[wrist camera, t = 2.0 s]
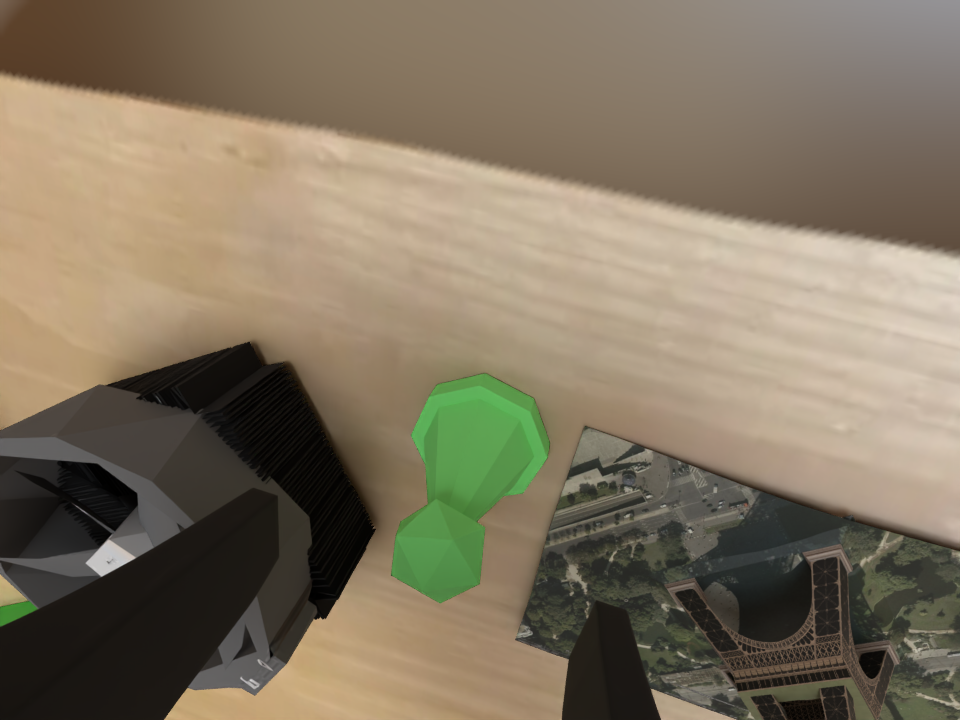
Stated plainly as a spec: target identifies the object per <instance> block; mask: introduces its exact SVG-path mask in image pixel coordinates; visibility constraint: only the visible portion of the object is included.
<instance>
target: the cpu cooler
mask: <svg viewBox="0 0 960 720" xmlns="http://www.w3.org/2000/svg"><path fill="white" fill-rule="evenodd" d="M283 363H285V362H283ZM283 363H277V364H272V365H266V366H262V365H261V363H260V361H259V359H258V357H257V355H256V353H255V351H254V349H253V347H252V346H251V344H250V342H247V343H244V344H240V345H237V346H234V347H233V348H231V347H230V348H227V349H224V350H220V351H218V352H214V353H210V354H207V355H204V356H201V357H197V358H194V359H191V360H188V361H185V362H180V363H178V364H174V365H172V366H167V367H164V368H162V369H160V370H159V369H158V370H155V371H152V372H149V373H148V372H147V373H144V374H142V375H138V376H135V377H132V378H128V379H124V380H121V381H119V382H115V383H111V384H108V385H105V386H104V385H98V386H95V387H93V388H91V389H89V390H87V391H85V392H82V393H80V394H78V395H76V396H74V397H72V398H69V399H67V400H65V401H63V402H61V403H59V404H57V405H54V406H52V407H50V408H48V409H46V410H44V411H41V412H39V413H37V414H35V415H33V416H31V417H28V418H26V419H24V420H22V421H20V422H18V423H16V424H13V425H11V426H9V427H7V428H5V429H3V430H0V574H1V575H2V576H3V577H4V578H5V579H6V580H7V581H8V582H9V583H10V584H11V585H13V586H14V587H15V588H16V589H17V590H18V591H19V592H20V593H21V594H22V595H23V596H24V597H26V598H27V599H28V600H29V601H30V602H31V603H32V604H33V605H34V606H35V607H36V608H37V609H39V608H41V607H43V606H45V605H48V604H50V603H52V602H54V601H56V600H58V599H60V598H62V597H64V596H66V595H68V594H70V593H72V592H74V591H75V590H77V589H79V588H81V587H83V586H85V585H87V584H89V583H91V582H93V581H95V580H96V579H98V578H100V577H102V576H104V575H106V574H107V573H109V572H111V571H113V570H115V569H117V568H118V567H120V566H122V565H124V564H126V563H128V562H129V561H131V560H133V559H135V558H137V557H138V556H140V555H142V554H144V553H145V552H147V551H149V550H150V549H152V548H154V547H156V546H157V545H159V544H161V543H162V542H164V541H166V540H167V539H169V538H171V537H172V536H174V535H176V534H178V533H179V532H181V531H183V530H184V529H186V528H188V527H189V526H191V525H192V524H194V523H196V522H197V521H199V520H201V519H202V518H204V517H206V516H207V515H209V514H210V513H212V512H214V511H215V510H217V509H218V508H220V507H222V506H223V505H225V504H227V503H228V502H230V501H231V500H233V499H235V498H236V497H238V496H239V495H241V494H243V493H244V492H246V491H248V490H249V489H251V488H256V489H259V490H262V491H265V492H269V493H272V494H275V495H278V522H279V558H278V560H277V562H276V564H275V565H274V567H273V569H272V570H271V572H270V574H269V576H268V577H267V579H266V581H265V582H264V584H263V586H262V587H261V589H260V590H259V592H258V594H257V595H256V597H255V599H254V600H253V602H252V603H251V604H250V606H249V607H248V608H247V610H246V611H245V612H244V614H243V615H242V616H241V618H240V619H239V620H238V622H237V623H236V624H235V626H234V627H233V628H232V630H231V631H230V632H229V634H228V635H227V636H226V638H225V639H224V640H223V642H222V643H221V644H220V646H219V647H218V648H217V650H216V651H215V652H214V654H213V655H212V656H211V657H210V659H209V660H208V661H207V663H206V664H205V665H204V667H203V668H202V669H201V671H200V672H199V673H198V675H197V676H196V677H195V678H194V680H193V681H192V682H191V684H190V685H189V686H188V688H190V689H193V690H204V689H217V688H242V689H244V690H245V691H247V692H249V693H251V694H253V695H254V696H255V695H256V694H257V693H258V692H259V691H260V690H261V689H262V688H263V687H264V686H265V685H266V684H267V683H268V682H269V681H270V680H271V679H272V678H273V677H274V676H275V675H276V674H277V673H278V672H279V671H280V670H281V669H282V668H283V667H284V666H285V665H286V664H287V662H288V661H289V659H290V657H291V656H292V654H293V652H294V651H295V649H296V647H297V646H298V644H299V642H300V641H301V639H302V637H303V636H304V634H305V632H306V631H307V629H308V627H309V626H310V624H311V622H312V621H313V619H315V620H317V618H318V619H319V618H320V617H321V618H322V619H324V618H325V619H326V618H327V616H328V614H329V612H330V611H331V609H332V607H333V606H334V604H335V602H336V600H338V599H339V597H340V595H341V593H342V592H343V590H344V588H345V586H346V584H347V582H348V580H349V578H350V577H351V575H352V573H353V571H354V569H355V568H356V566H357V564H358V563H359V561H360V559H361V557H362V556H363V554H364V552H365V550H366V547H367V545H368V543H369V541H370V539H371V537H372V535H373V534H374V532H375V530H376V529H373V527H374V526H371V525H372V524H373V523H370V521H371V520H368V518H369V517H370V516H369V517H367V516H368V515H369V514H368V513H366V511H364V509H365V507H363V506H364V505H363V504H361V503H362V502H361V501H359V500H360V498H357V497H358V494H356V493H357V492H356V491H354V490H355V489H354V488H352V486H349V485H350V484H351V481H349V478H346V477H347V474H345V475H342V474H343V473H344V471H343V470H344V469H343V467H342V465H341V464H340V465H339V463H340V461H337V460H338V458H335V457H336V454H332V452H333V451H331V450H332V449H333V448H332V447H330V446H331V445H329V446H325V445H326V444H327V443H328V442H329V441H328V440H325V441H323V440H324V439H325V437H323V436H324V435H325V434H324V433H321V434H319V433H320V431H321V430H319V429H320V428H321V426H317V425H318V424H319V423H318V422H315V421H316V420H317V419H316V418H314V416H315V415H314V414H312V415H310V414H311V413H312V410H311V411H309V410H310V409H311V408H310V407H307V406H308V405H309V404H308V403H305V404H302V403H303V402H304V401H305V400H306V399H305V400H302V399H303V398H304V395H302V394H303V393H302V392H299V393H297V392H298V391H299V390H300V389H299V390H295V391H292V390H293V389H294V388H296V387H297V386H298V385H297V386H293V387H291V386H292V385H293V384H294V383H295V382H296V380H292V379H293V378H290V379H286V378H287V377H289V376H290V375H291V374H292V373H291V372H289V373H287V372H288V371H289V370H287V371H281V370H283V369H284V368H285V367H286V366H284V367H280V368H278V367H279V366H281V365H282V364H283ZM280 371H281V372H280ZM285 373H286V374H285ZM285 379H286V380H285ZM291 380H292V381H291ZM301 395H302V396H301ZM306 407H307V408H306ZM331 454H332V455H331ZM341 467H342V468H341Z"/></svg>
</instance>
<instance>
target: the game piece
mask: <svg viewBox="0 0 960 720" xmlns="http://www.w3.org/2000/svg"><path fill="white" fill-rule="evenodd" d="M411 437H412V439H413V441H414V443H415V445H416V447H417V449H418V451H419V453H420V455H421V457H422V459H423V462H424V464H425V467H426V483H427V498H428V504H427V505H426V506H424V507H423V508H421V509H420V510H418V511H416V512H415V513H413V514H412V515H410V516H409V517H407V518H406V519H404V520H402V521H401V522H400V525H399V528H398V531H397V534H396V538H395V547H394V555H393V563H392V572H391V576H393V577H395V578H397V579H398V580H400V581H402V582H404V583H405V584H407V585H409V586H411V587H412V588H414V589H416V590H418V591H419V592H421V593H423V594H425V595H426V596H428V597H430V598H432V599H433V600H435V601H437V602H439V603H442V602H444V601H446V600H448V599H450V598H452V597H454V596H456V595H458V594H460V593H462V592H464V591H466V590H469V589H471V588H473V587H475V586H477V585H479V584H480V575H481V565H482V555H483V544H484V534H485V527H484V526H482V525H480V524H479V523H477V521H478V520H479V519H480V518H481V517H482V516H483V515H484V514H485V513H486V512H487V511H489V510H490V509H491V508H492V507H493V506H494V505H495V504H496V503H497V502H498V501H499V500H500V499H501V498H502V497H503V496H508V495H515V494H523V493H524V491H525V490H526V488H527V487H528V485H529V484H530V483H531V481H532V480H533V478H534V477H535V475H536V474H537V472H538V471H539V470H540V468H541V467H542V465H543V464H544V462H545V461H546V459H547V458H548V452H549V446H550V442H549V439H548V436H547V434H546V431H545V428H544V425H543V422H542V420H541V417H540V414H539V411H538V409H537V406H536V403H535V400H534V398H532V397H530V396H528V395H526V394H524V393H522V392H520V391H518V390H516V389H514V388H513V387H511V386H509V385H507V384H505V383H503V382H501V381H499V380H497V379H495V378H493V377H491V376H489V375H487V374H486V373H484V374H480V375H476V376H471V377H467V378H463V379H459V380H454V381H450V382H446V383H441V384H437V385H436V387H435V388H434V390H433V391H432V393H431V395H430V396H429V398H428V400H427V402H426V404H425V407H424V409H423V411H422V413H421V415H420V417H419V419H418V421H417V423H416V426H415V428H414V430H413V432H412V434H411Z"/></svg>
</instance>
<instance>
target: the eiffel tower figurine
mask: <svg viewBox="0 0 960 720" xmlns="http://www.w3.org/2000/svg"><path fill="white" fill-rule="evenodd" d="M596 600H598V601H601V602H604V603H607V604H610V605H613V606H616V607H619V608H622V609H625V610H626V611H627V613H628V614H629V617H630V621H631V625H632V629H633V632H634V636H635V639H636V643H637V646H638V650H639V653H640V657H641V660H642V663H643V667H644V670H645V673H646V676H647V679H648V683H649V686H650V688H651V689H654V690H657V691H659V692H662V693H665V694H667V695H670V696H673V697H676V698H678V699H681V700H684V701H687V702H689V703H692V704H695V705H698V706H700V707H703V708H706V709H709V710H711V711H714V712H717V713H720V714H723V715H726V716H729V717H731V718H734V719H737V720H960V551H957V550H953V549H949V548H946V547H942V546H939V545H935V544H931V543H928V542H924V541H920V540H917V539H913V538H910V537H906V536H903V535H899V534H896V533H892V532H889V531H885V530H882V529H878V528H875V527H871V526H868V525H864V524H861V523H857V522H856V521H855V519H854V517H853V515H850V516H846V517H843V518H841V517H837V516H834V515H831V514H828V513H825V512H821V511H818V510H815V509H812V508H809V507H805V506H802V505H799V504H796V503H793V502H790V501H787V500H784V499H782V498H779V497H776V496H773V495H770V494H767V493H764V492H761V491H759V490H756V489H753V488H750V487H747V486H744V485H742V484H739V483H736V482H734V481H731V480H728V479H726V478H723V477H720V476H718V475H715V474H712V473H710V472H707V471H704V470H702V469H699V468H696V467H694V466H691V465H688V464H686V463H683V462H681V461H678V460H675V459H673V458H670V457H668V456H665V455H662V454H660V453H657V452H654V451H652V450H649V449H647V448H644V447H641V446H639V445H636V444H633V443H631V442H628V441H625V440H622V439H620V438H617V437H614V436H611V435H608V434H606V433H603V432H600V431H597V430H595V429H592V428H589V427H586V426H585V427H584V430H583V433H582V436H581V439H580V442H579V445H578V448H577V451H576V453H575V456H574V459H573V462H572V465H571V468H570V471H569V474H568V477H567V480H566V482H565V485H564V488H563V491H562V494H561V497H560V500H559V503H558V506H557V509H556V511H555V514H554V517H553V520H552V523H551V526H550V529H549V533H548V536H547V539H546V543H545V546H544V550H543V553H542V557H541V560H540V564H539V568H538V571H537V575H536V579H535V582H534V586H533V589H532V592H531V596H530V599H529V602H528V605H527V608H526V611H525V614H524V616H523V619H522V622H521V625H520V628H519V631H518V633H517V636H516V639H515V640H517V641H519V642H522V643H525V644H527V645H530V646H533V647H535V648H538V649H541V650H543V651H546V652H549V653H551V654H554V655H557V656H560V657H563V658H566V659H569V656H570V654H571V652H572V650H573V648H574V646H575V643H576V641H577V639H578V637H579V635H580V633H581V631H582V629H583V627H584V625H585V622H586V620H587V618H588V616H589V614H590V612H591V610H592V608H593V606H594V604H595V601H596Z"/></svg>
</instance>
